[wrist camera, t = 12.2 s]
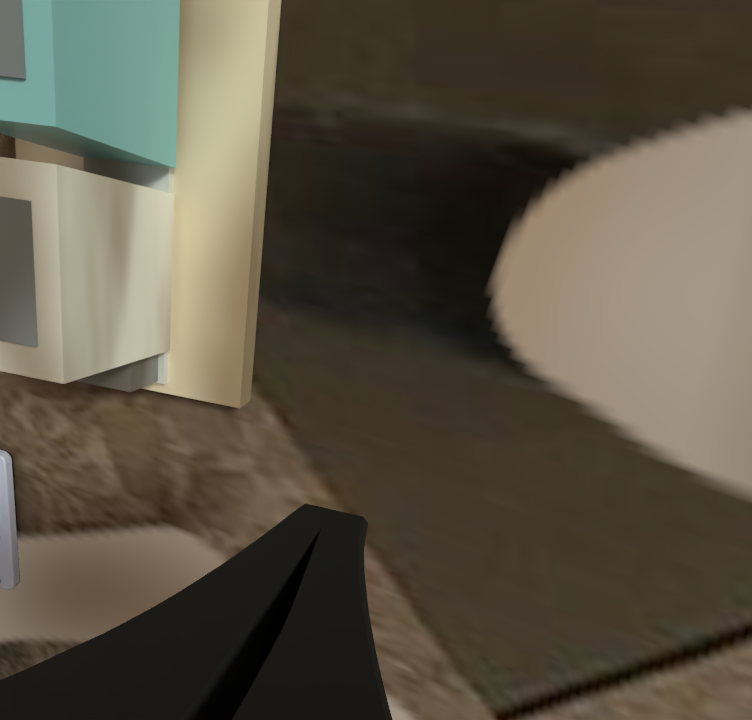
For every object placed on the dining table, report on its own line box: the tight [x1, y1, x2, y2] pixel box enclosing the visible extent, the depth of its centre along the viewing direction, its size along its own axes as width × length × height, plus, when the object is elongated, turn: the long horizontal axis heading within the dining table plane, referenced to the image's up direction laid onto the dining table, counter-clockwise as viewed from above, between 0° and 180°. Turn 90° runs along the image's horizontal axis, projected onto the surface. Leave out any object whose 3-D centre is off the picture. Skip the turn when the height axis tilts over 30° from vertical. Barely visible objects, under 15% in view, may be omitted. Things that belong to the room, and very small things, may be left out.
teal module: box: [0, 0, 180, 168], centre depth 13 cm, size 4×6×5 cm, turn 172°
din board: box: [0, 0, 281, 408], centre depth 13 cm, size 10×24×6 cm, turn 172°
